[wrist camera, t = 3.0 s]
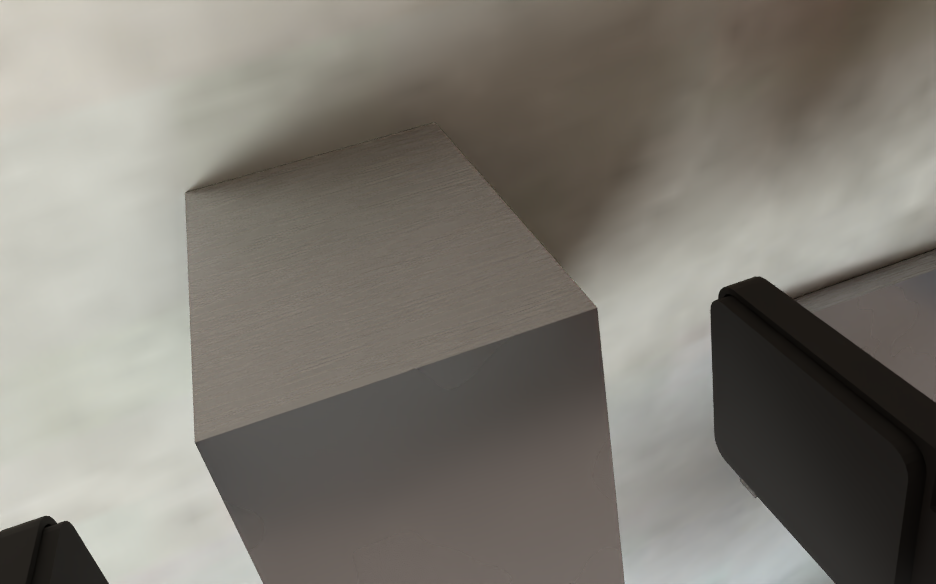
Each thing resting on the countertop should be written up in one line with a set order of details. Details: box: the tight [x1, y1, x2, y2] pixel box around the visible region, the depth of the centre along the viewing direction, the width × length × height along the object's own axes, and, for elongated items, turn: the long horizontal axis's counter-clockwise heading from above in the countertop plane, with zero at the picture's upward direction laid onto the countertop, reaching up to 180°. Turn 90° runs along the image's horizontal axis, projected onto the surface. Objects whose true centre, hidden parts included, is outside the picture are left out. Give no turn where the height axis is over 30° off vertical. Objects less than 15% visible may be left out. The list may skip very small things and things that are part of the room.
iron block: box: [185, 122, 624, 584], centre depth 11 cm, size 5×4×6 cm
